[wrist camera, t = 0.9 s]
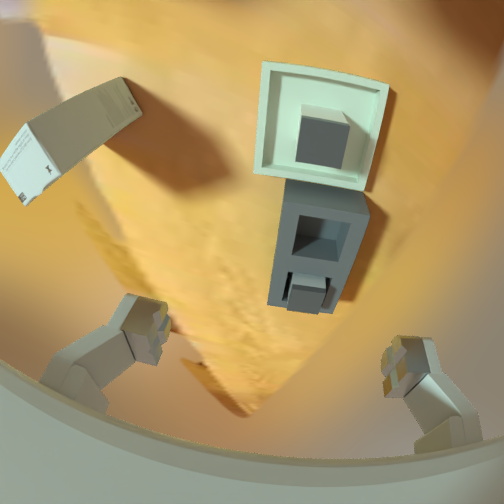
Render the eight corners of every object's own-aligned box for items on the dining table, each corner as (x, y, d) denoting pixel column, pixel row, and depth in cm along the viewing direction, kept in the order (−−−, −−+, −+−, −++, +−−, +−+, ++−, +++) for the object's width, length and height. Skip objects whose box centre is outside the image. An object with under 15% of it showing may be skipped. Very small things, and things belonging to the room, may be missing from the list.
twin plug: (294, 254, 38) (292, 288, 33) (324, 259, 38) (326, 293, 33) (289, 276, 41) (286, 310, 36) (317, 280, 40) (318, 314, 36)
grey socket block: (286, 178, 32) (283, 204, 28) (362, 192, 32) (371, 219, 27) (270, 278, 43) (266, 308, 39) (331, 287, 42) (332, 317, 38)
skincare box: (122, 74, 26) (26, 114, 15) (146, 116, 29) (63, 175, 18) (78, 110, 29) (-8, 163, 18) (99, 147, 32) (22, 211, 21)
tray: (264, 60, 24) (262, 61, 23) (384, 82, 23) (389, 84, 22) (255, 166, 32) (253, 173, 31) (360, 183, 31) (363, 191, 30)
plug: (301, 103, 26) (301, 117, 21) (340, 110, 26) (350, 126, 21) (296, 139, 29) (295, 161, 24) (334, 146, 28) (340, 169, 24)
